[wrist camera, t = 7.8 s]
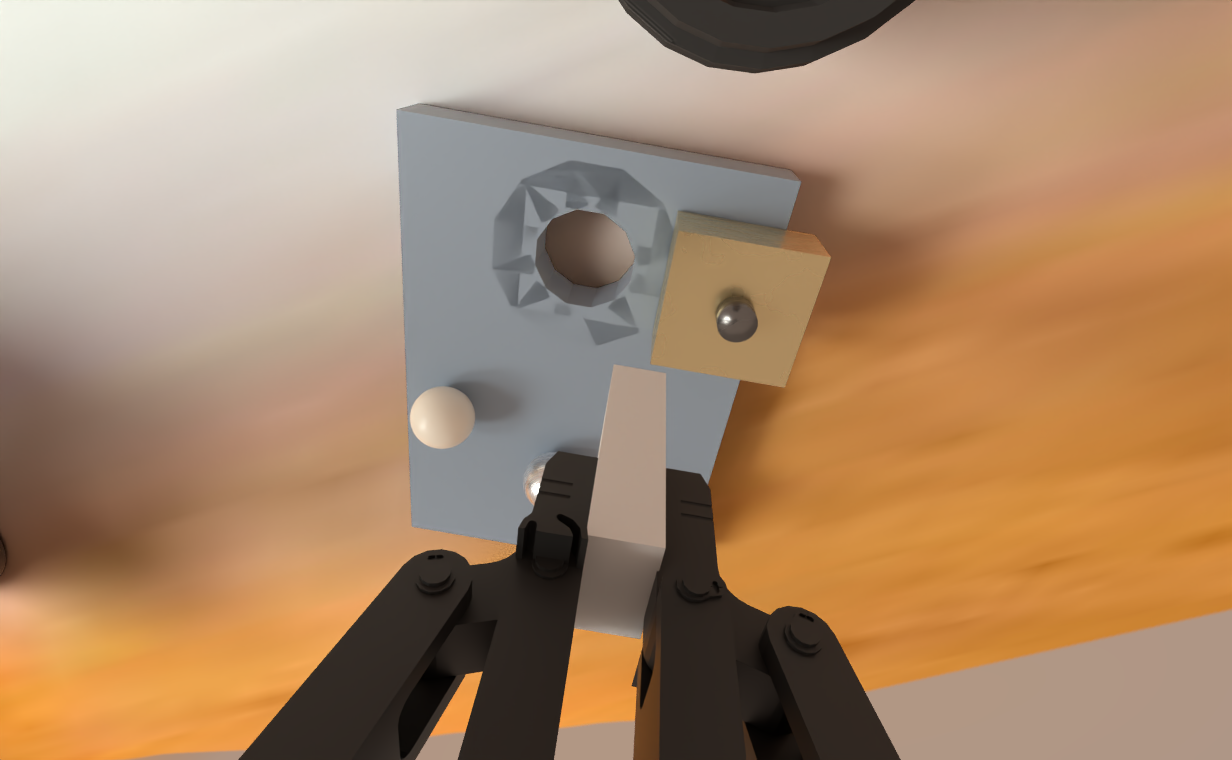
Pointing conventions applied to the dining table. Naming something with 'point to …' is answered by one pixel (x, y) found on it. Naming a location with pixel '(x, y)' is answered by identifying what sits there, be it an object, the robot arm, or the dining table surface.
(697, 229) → the brass cover
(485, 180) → the board
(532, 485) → the steel ball
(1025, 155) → the dining table surface
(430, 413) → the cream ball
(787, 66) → the coffee cup
